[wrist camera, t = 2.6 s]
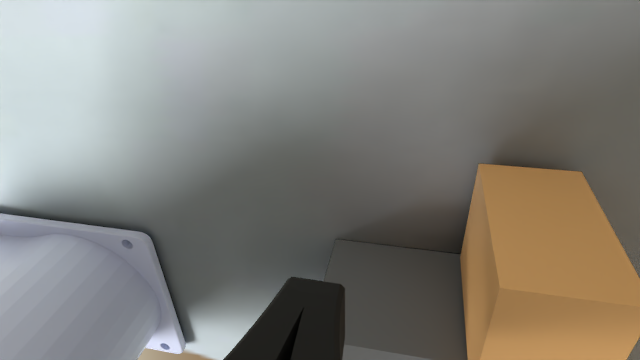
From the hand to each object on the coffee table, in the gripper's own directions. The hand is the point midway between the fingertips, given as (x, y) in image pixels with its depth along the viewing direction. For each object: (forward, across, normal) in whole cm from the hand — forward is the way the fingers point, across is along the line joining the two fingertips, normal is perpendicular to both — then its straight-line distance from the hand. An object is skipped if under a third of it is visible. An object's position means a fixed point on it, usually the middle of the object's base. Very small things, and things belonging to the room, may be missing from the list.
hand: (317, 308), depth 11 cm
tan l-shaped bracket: (+5, -5, +5) cm, 9 cm away
